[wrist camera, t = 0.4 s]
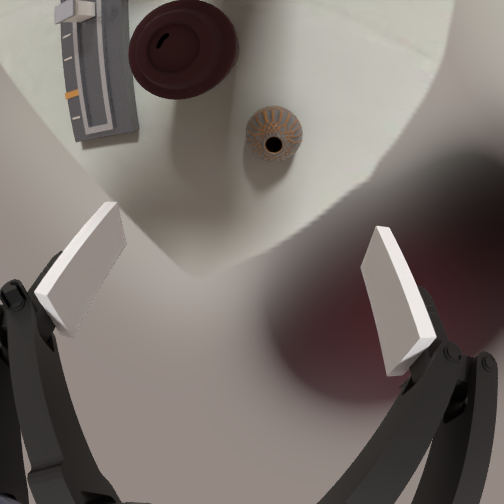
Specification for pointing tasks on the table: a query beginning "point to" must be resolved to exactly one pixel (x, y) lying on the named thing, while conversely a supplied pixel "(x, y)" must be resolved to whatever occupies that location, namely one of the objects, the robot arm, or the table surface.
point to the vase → (274, 133)
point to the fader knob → (74, 11)
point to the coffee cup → (183, 49)
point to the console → (99, 72)
